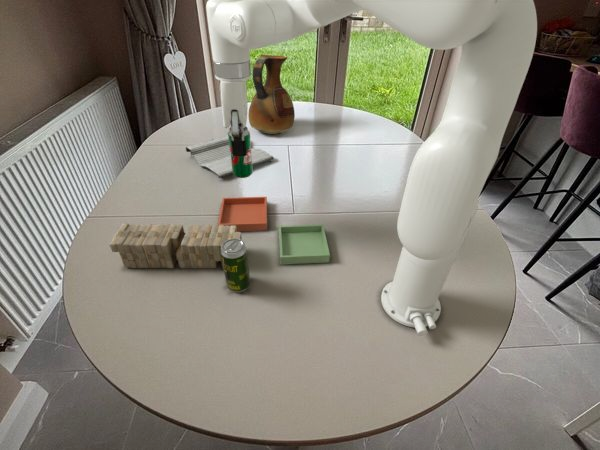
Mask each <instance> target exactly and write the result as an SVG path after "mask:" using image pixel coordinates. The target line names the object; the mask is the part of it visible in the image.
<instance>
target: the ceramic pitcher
mask: <svg viewBox="0 0 600 450" xmlns="http://www.w3.org/2000/svg"><path fill="white" fill-rule="evenodd" d="M287 59H288V57H287V56H283V55H279V54H278V55H277V54H275V55H270V54H260V55H259V57H258V58H257V59H256V60H255V62H254V63H253V66H252V70H251V74H252V83H253V85H254V89H255V94H254V96H253V98H252V99H251V102H250V105H249V107H248V123H249V126H250V127H251V128H253V129H254V130H257V131H259V132H260V133H264V134H270V135H274V134H275V135H276V134H280V133H282V132H285V131H287V130H290V129H291V128H292V127H293V125H294V123H295V117H296V115H295V114H296V113H295V106H294V103H293V100H292V98H291V95H290V94H289V92H288V91H287V90H286V88H284V87H283V85H282V82H281V81H282V80H281V72H282V65H283V64H284V63H285V62H286V61H287ZM264 66H265V70H266V71H265V72H266V78H265V82H264V81H263V69H264Z"/></svg>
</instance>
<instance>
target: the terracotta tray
mask: <svg viewBox="0 0 600 450" xmlns="http://www.w3.org/2000/svg"><path fill="white" fill-rule="evenodd" d="M219 211H220V212H219V216H218V222H217V225H218V226H219V225H224V226H231V225H233V226H237V232H256V231H257V232H258V231H259V232H260V231H261V232H262V231H263V232H264V231H268V198H267V196H246V197H245V196H241V197H240V196H237V197H222V200H221V205H220V210H219Z"/></svg>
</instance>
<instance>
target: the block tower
mask: <svg viewBox="0 0 600 450" xmlns="http://www.w3.org/2000/svg"><path fill="white" fill-rule="evenodd" d="M229 239H240V240H242V231H237V226H233V225H231V226H224V225H219V226H218V224H207V225H206V224H205V225H203V224H202V225H200V224H195V225H194V224H189V225H188V227H187V228H186V232H185V229H184V225H183V224H163V223H162V224H129V223H125V222H124V223H122V224H121V225H120V227H119V228H118V230H117V232H116V233H115V235H114V236H113V238H112V240H111V241H110V242H109V244H108V245H109V247H110V250H111V252H112V253H119V256H120V259H121V261H122V264H123V266H124V268H131V269H137V268H138V269H144V268H145V269H150V268H151V269H156V268H157V269H162V268H164V269H165V268H166V269H174V268H175V266H176V262H178V266H179V268H180V269H191V268H192V269H216V268H217V266H218V262H221V268H222V269H224V268H223V262H222V257H221V245H222V244H223V243H224V242H225V241H226V240H229ZM242 241H243V240H242Z"/></svg>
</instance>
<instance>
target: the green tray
mask: <svg viewBox="0 0 600 450" xmlns="http://www.w3.org/2000/svg"><path fill="white" fill-rule="evenodd" d="M278 241H279V243H278V244H279V257H280V258H279V260H280V261H279V262H280V263H279V264H280V265H298V264H299V265H300V264H302V265H303V264H321V263H323V264H325V263H330V259H331V254H330V249H329V245H328V240H327V234H326V230H325V226H324V224H298V225H279V226H278Z"/></svg>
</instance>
